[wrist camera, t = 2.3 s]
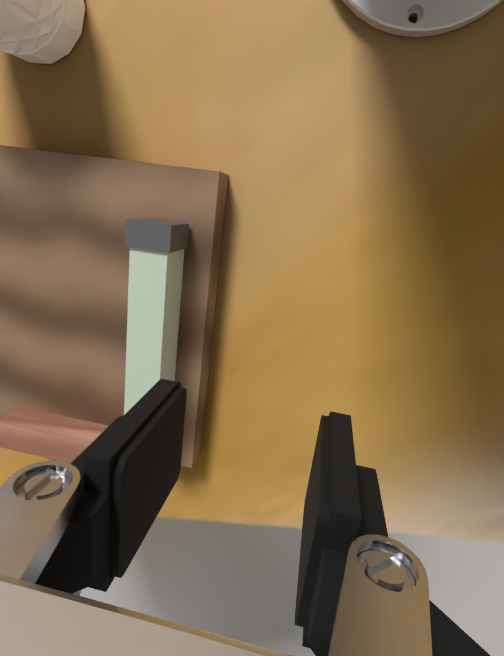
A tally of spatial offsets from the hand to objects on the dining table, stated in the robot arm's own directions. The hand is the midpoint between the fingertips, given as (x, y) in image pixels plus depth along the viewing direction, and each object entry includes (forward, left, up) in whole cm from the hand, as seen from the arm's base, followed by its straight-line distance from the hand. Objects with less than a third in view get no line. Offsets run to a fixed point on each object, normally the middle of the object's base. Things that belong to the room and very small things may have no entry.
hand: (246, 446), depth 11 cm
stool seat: (+3, -15, -19) cm, 25 cm away
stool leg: (+3, -9, -16) cm, 19 cm away
